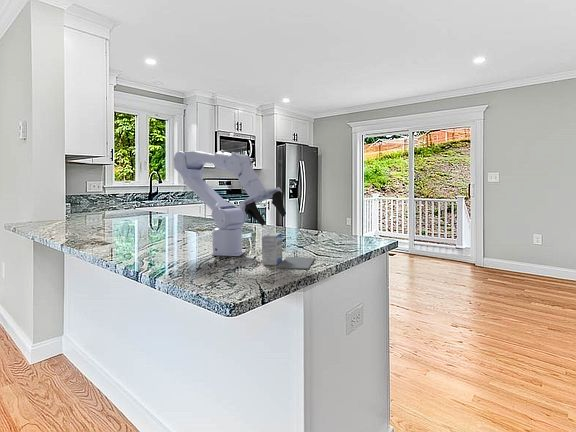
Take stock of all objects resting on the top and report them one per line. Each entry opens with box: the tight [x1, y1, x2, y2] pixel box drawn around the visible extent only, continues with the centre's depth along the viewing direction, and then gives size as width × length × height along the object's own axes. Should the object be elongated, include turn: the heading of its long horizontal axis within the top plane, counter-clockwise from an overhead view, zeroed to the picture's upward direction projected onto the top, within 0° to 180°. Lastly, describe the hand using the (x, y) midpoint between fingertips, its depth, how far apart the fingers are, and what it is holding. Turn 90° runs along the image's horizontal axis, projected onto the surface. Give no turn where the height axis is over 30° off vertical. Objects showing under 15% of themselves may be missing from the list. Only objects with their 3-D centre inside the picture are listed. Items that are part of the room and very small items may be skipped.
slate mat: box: [276, 256, 316, 271], centre depth 110 cm, size 9×14×1 cm, turn 168°
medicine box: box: [261, 232, 283, 267], centre depth 112 cm, size 8×4×9 cm, turn 168°
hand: (274, 219), depth 113 cm, fingers open, 7 cm apart
